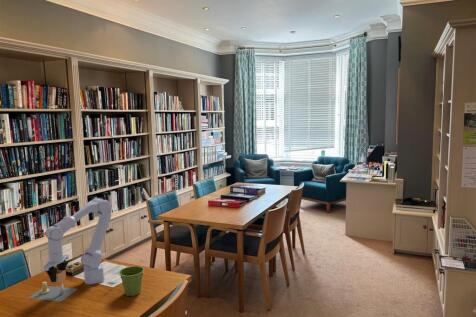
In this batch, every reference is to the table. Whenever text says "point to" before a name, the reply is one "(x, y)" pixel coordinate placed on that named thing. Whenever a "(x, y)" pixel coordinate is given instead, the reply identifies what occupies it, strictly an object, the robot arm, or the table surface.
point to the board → (52, 293)
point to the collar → (59, 276)
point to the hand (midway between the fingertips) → (57, 279)
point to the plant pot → (132, 279)
